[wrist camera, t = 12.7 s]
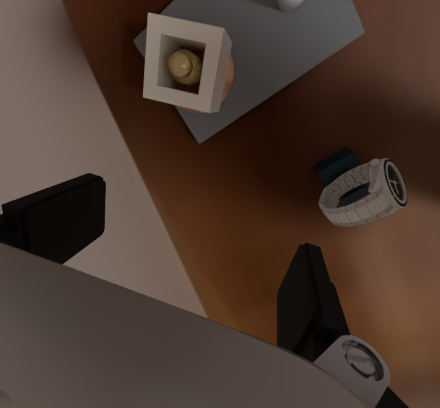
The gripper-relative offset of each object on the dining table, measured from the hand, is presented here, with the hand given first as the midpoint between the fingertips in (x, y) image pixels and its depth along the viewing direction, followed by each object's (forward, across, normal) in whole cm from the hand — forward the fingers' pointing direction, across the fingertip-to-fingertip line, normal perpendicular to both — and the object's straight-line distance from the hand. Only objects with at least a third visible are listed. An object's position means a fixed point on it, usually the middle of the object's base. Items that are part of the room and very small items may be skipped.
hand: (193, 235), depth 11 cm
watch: (+24, -12, 0) cm, 27 cm away
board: (+23, +4, -12) cm, 26 cm away
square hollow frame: (+21, +8, -7) cm, 24 cm away
